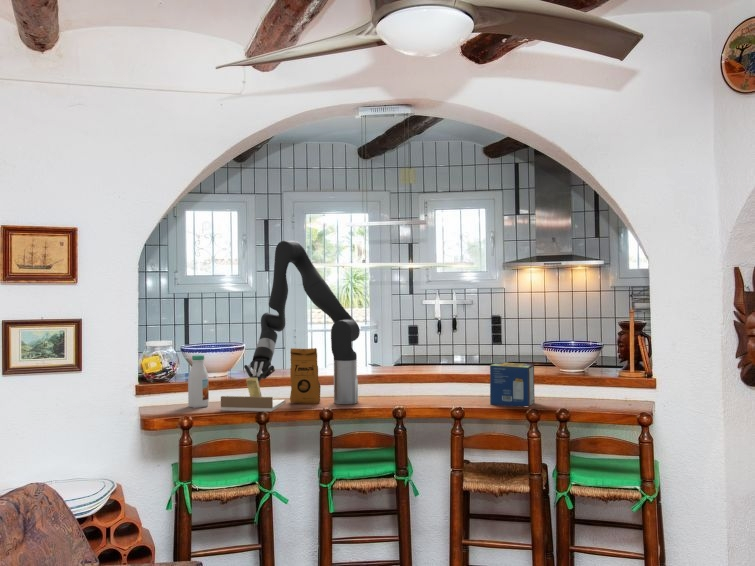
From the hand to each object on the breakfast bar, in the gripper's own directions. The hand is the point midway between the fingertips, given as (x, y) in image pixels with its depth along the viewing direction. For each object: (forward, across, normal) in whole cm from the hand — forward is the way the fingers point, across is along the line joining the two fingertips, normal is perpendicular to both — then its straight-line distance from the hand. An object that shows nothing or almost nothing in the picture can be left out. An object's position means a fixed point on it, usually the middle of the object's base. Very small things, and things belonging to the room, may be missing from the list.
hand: (254, 386), depth 256 cm
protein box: (-6, +100, +17) cm, 102 cm away
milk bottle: (+8, -22, +4) cm, 24 cm away
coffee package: (-1, +18, +12) cm, 22 cm away
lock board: (+6, 0, +5) cm, 8 cm away
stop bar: (+2, 0, +6) cm, 6 cm away
